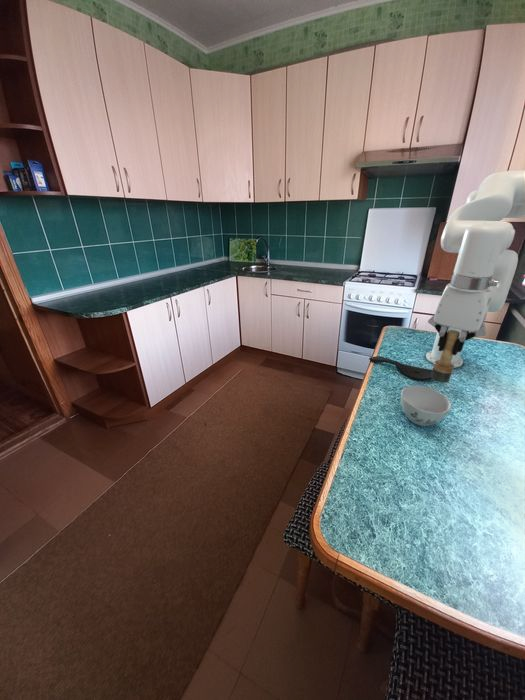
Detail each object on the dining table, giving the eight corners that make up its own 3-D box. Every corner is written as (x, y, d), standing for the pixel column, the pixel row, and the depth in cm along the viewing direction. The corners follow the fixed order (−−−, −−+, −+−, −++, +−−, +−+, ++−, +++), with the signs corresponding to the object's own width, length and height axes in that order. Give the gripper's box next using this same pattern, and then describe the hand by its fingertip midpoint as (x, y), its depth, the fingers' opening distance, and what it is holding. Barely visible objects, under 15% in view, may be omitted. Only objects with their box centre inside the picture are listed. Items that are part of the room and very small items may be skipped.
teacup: (439, 441, 77) (447, 418, 73) (390, 422, 84) (396, 400, 80) (448, 412, 87) (456, 390, 84) (404, 397, 94) (409, 376, 91)
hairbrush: (374, 349, 118) (443, 366, 103) (373, 357, 120) (441, 375, 104) (365, 357, 113) (437, 376, 97) (364, 365, 115) (435, 385, 99)
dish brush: (430, 372, 83) (443, 327, 76) (448, 375, 81) (463, 329, 74) (430, 380, 79) (444, 334, 73) (450, 384, 77) (466, 337, 71)
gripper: (516, 284, 65) (488, 356, 73) (437, 273, 75) (421, 337, 84) (510, 291, 60) (481, 367, 69) (427, 279, 70) (411, 346, 79)
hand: (448, 350), depth 76 cm, fingers closed on dish brush, 2 cm apart
